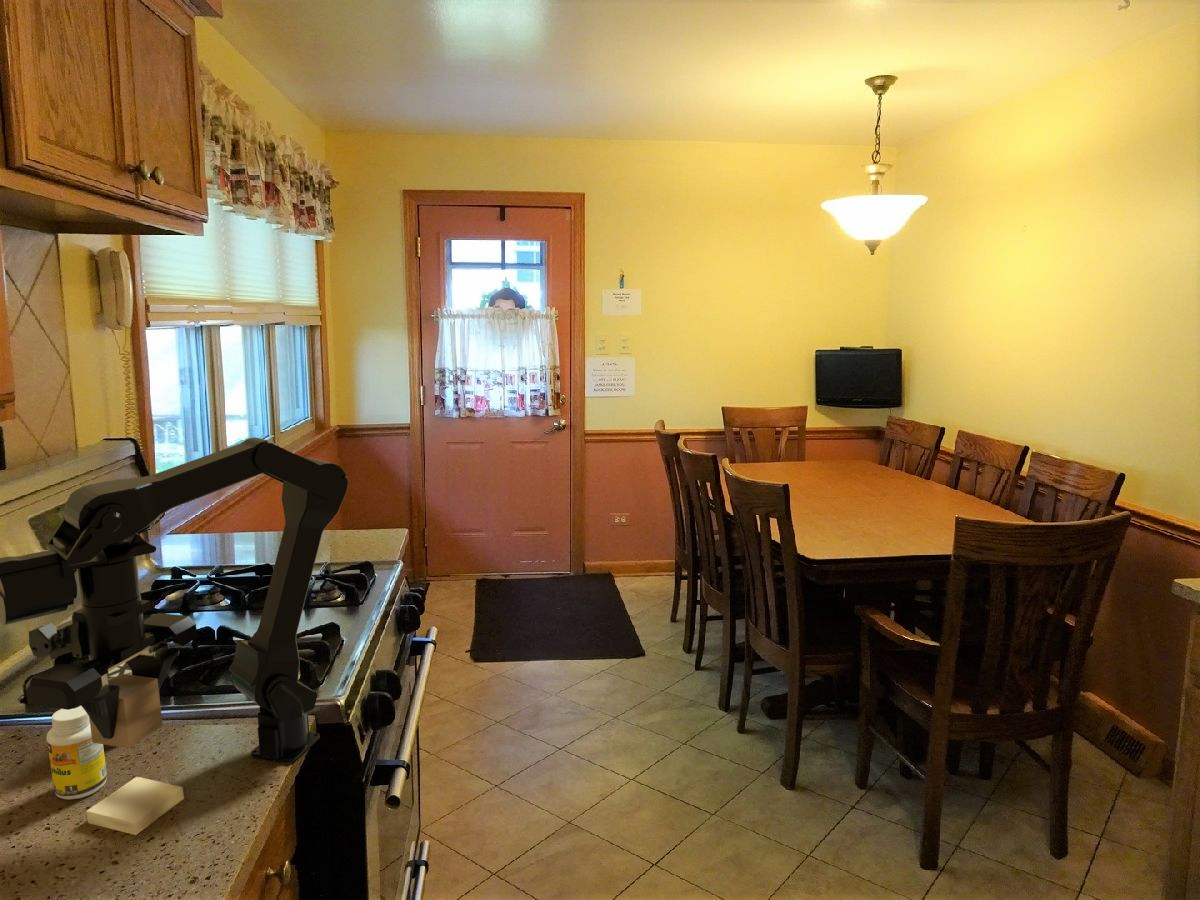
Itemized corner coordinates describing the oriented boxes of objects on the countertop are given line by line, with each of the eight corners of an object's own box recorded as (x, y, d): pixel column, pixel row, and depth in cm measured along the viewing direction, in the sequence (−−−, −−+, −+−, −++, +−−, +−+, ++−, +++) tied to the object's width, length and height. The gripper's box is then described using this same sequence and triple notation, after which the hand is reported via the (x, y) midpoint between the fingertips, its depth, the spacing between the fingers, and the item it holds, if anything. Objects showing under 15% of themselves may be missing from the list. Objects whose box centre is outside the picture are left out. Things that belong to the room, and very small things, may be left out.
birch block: (138, 791, 101) (136, 776, 101) (184, 802, 99) (182, 787, 99) (88, 826, 95) (86, 810, 94) (136, 838, 93) (134, 823, 92)
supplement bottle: (45, 793, 100) (33, 716, 98) (91, 770, 105) (81, 696, 103) (70, 807, 98) (59, 728, 96) (117, 783, 102) (107, 707, 100)
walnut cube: (127, 720, 98) (121, 673, 97) (162, 725, 97) (157, 678, 96) (92, 742, 93) (86, 693, 92) (129, 748, 92) (123, 699, 91)
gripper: (117, 565, 102) (131, 680, 106) (-27, 623, 85) (-5, 761, 88) (194, 572, 100) (206, 690, 103) (61, 634, 82) (81, 775, 85)
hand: (127, 725), depth 95 cm, fingers closed on walnut cube, 5 cm apart
